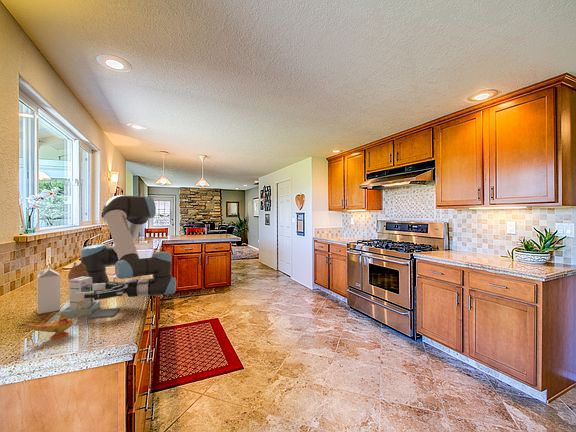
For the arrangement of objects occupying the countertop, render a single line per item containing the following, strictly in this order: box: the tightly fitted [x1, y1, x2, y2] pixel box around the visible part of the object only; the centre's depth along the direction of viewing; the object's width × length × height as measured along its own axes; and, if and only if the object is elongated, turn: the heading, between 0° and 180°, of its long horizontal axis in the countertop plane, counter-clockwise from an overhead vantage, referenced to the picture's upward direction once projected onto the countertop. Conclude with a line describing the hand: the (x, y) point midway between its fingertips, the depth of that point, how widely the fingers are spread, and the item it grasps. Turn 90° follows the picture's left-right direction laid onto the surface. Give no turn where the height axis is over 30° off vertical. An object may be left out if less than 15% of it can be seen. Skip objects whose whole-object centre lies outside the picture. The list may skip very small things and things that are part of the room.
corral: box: [59, 300, 101, 318], centre depth 116 cm, size 11×11×2 cm
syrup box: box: [68, 277, 94, 310], centre depth 116 cm, size 6×6×14 cm
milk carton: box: [36, 264, 61, 315], centre depth 117 cm, size 7×7×19 cm
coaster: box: [86, 307, 121, 320], centre depth 114 cm, size 9×9×1 cm
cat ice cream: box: [67, 261, 88, 282], centre depth 132 cm, size 9×8×18 cm
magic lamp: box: [16, 299, 86, 340], centre depth 92 cm, size 7×18×11 cm, turn 141°
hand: (82, 291), depth 115 cm, fingers open, 13 cm apart
